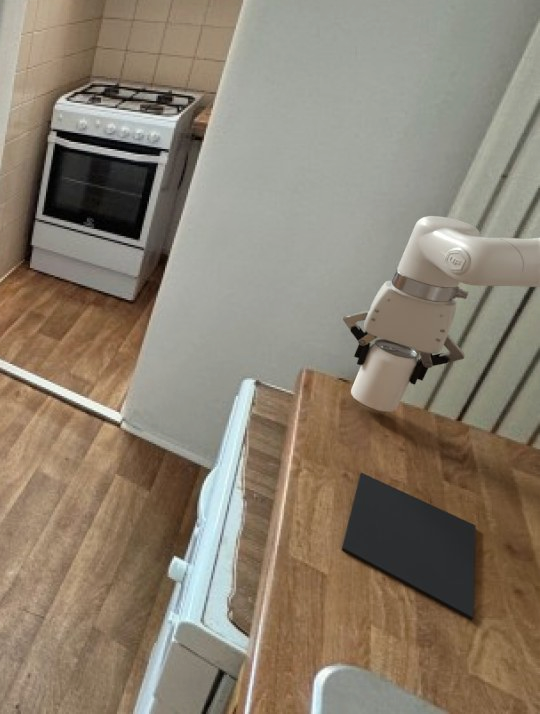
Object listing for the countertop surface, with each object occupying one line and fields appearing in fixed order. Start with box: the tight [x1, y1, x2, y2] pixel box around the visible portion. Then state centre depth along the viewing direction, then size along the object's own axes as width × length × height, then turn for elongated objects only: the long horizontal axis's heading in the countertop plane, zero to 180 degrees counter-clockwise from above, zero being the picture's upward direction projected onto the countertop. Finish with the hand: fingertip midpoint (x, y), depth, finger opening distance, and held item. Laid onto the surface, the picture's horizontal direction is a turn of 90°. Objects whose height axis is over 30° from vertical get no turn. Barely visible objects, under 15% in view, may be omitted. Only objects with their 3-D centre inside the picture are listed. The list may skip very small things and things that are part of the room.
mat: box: [341, 472, 476, 621], centre depth 88 cm, size 13×20×1 cm, turn 132°
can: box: [350, 338, 418, 413], centre depth 110 cm, size 6×6×12 cm
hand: (385, 370), depth 110 cm, fingers closed on can, 6 cm apart
